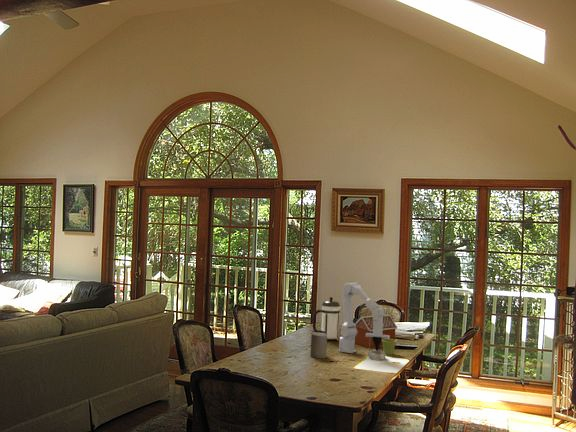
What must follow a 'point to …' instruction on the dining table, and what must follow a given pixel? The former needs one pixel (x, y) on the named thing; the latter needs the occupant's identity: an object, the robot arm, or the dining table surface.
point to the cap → (376, 351)
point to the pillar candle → (318, 345)
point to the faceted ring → (376, 356)
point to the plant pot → (388, 346)
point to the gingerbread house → (366, 326)
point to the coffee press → (329, 319)
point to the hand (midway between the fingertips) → (377, 349)
